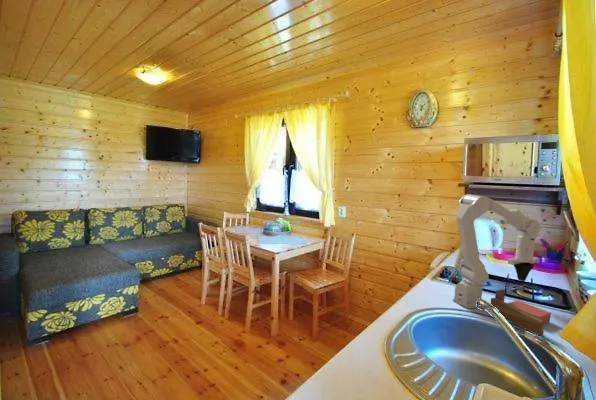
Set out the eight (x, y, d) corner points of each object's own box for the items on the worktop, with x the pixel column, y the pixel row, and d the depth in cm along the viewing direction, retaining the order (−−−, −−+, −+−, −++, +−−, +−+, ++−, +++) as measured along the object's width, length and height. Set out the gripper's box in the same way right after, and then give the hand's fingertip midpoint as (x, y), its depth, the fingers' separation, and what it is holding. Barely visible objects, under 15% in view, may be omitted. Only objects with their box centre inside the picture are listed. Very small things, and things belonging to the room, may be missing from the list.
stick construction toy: (462, 282, 139) (456, 265, 143) (448, 286, 144) (443, 270, 148) (475, 284, 145) (469, 269, 149) (461, 288, 150) (456, 273, 154)
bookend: (495, 310, 116) (497, 290, 115) (493, 309, 117) (496, 290, 116) (503, 309, 117) (505, 289, 116) (501, 308, 118) (503, 289, 117)
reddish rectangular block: (537, 328, 105) (539, 317, 104) (504, 313, 114) (505, 303, 114) (549, 323, 108) (550, 312, 108) (516, 309, 118) (517, 300, 117)
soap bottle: (456, 272, 158) (459, 234, 156) (451, 265, 170) (454, 229, 168) (482, 275, 155) (486, 236, 153) (476, 267, 167) (480, 231, 164)
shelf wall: (538, 336, 99) (540, 321, 98) (489, 310, 116) (491, 298, 115) (543, 335, 99) (544, 321, 99) (493, 310, 116) (495, 297, 116)
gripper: (521, 251, 116) (517, 285, 117) (548, 249, 120) (544, 282, 121) (504, 246, 122) (500, 278, 124) (530, 245, 127) (526, 276, 128)
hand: (521, 280), depth 123 cm, fingers closed
